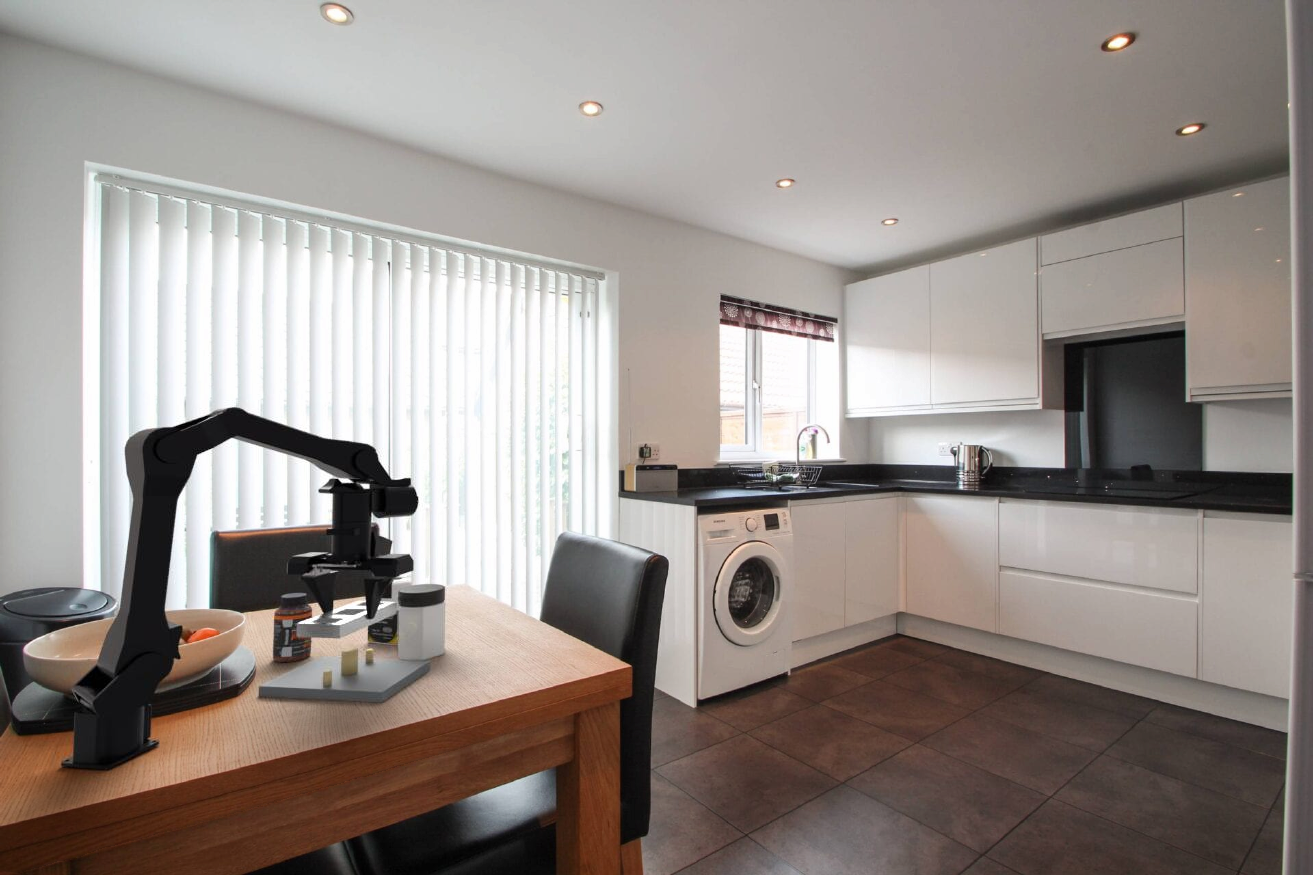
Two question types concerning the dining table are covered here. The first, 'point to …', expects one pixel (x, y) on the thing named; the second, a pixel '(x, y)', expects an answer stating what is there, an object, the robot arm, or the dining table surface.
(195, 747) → the dining table surface
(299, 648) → the supplement bottle
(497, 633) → the dining table surface
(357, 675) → the post base
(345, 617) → the white slotted frame
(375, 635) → the medicine bottle
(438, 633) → the jar
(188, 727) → the dining table surface
